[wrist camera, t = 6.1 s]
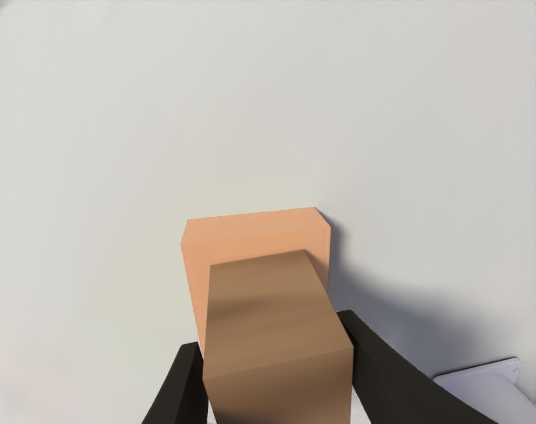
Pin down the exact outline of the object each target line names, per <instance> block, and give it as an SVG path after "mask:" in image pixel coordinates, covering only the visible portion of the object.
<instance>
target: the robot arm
mask: <svg viewBox="0 0 536 424" xmlns="http://www.w3.org/2000/svg"><path fill="white" fill-rule="evenodd" d="M336 313H337V315H338V317H339V319H340V321H341V323H342V325H343V327H344V329H345V331H346V333H347V335H348V337H349V339H350V341H351V343H352V345H353V347H354V349H353V371H352V385H353V387H354V389H355V391H356V393H357V395H358V397H359V399H360V401H361V403H362V405H363V407H364V410H365V412H366V414H367V416H368V418H369V420H370V422H371V424H536V406H535V405H534V404H533V403H532V402H531V401H530V400H529V399H528V398H527V397H526V396H525V395H524V394H523V393H522V392H521V391H520V390H519V389H518V388H517V387H516V386H515V382H516V379H517V376H518V374H519V371H520V368H521V366H522V362H521V361H520V360H519V359H518V358H512V359H508V360H504V361H499V362H495V363H491V364H487V365H483V366H478V367H474V368H470V369H466V370H461V371H457V372H453V373H449V374H445V375H440V376H437V377H435V378H434V379H433V380H431V379H430V378H429V377H427V376H426V375H425V374H423V373H422V372H421V371H419V370H418V369H417V368H416V367H414V366H413V365H412V364H411V363H409V362H408V361H407V360H406V359H404V358H403V357H402V356H401V355H400V354H398V353H397V352H396V351H395V350H394V349H393V348H391V347H390V346H389V345H388V344H387V343H386V342H384V341H383V340H382V339H381V338H380V337H379V336H378V335H377V334H376V333H375V332H374V331H372V330H371V329H370V328H369V327H368V326H367V325H366V324H365V323H364V322H363V321H362V320H361V319H360V318H359V317H358V316H357V315H356V314H355V313H354V312H353V311H352V310H346V311H341V312H336ZM203 365H204V360H203V357H202V354H201V351H200V348H199V345H198V342H193V343H188V344H184V345H182V346H181V347H180V349H179V351H178V353H177V355H176V358H175V360H174V362H173V364H172V366H171V368H170V371H169V373H168V375H167V377H166V379H165V381H164V383H163V385H162V387H161V389H160V391H159V393H158V394H157V396H156V398H155V400H154V402H153V404H152V406H151V408H150V410H149V411H148V413H147V415H146V417H145V418H144V420H143V422H142V424H207V415H208V399H209V398H208V395H207V392H206V389H205V386H204V382H203Z"/></svg>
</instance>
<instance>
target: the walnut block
mask: <svg viewBox="0 0 536 424" xmlns="http://www.w3.org/2000/svg"><path fill="white" fill-rule="evenodd" d="M353 349H354V347H353V345H352V343H351V341H350V339H349V337H348V335H347V333H346V331H345V329H344V327H343V325H342V323H341V321H340V319H339V317H338V315H337V313H336V311H335V309H334V307H333V305H332V303H331V301H330V299H329V297H328V295H327V294H326V292H325V290H324V288H323V286H322V284H321V282H320V280H319V278H318V276H317V274H316V272H315V270H314V268H313V266H312V264H311V262H310V260H309V258H308V256H307V254H306V252H305V250H304V249H302V250H296V251H290V252H285V253H279V254H273V255H267V256H262V257H256V258H250V259H245V260H239V261H233V262H227V263H222V264H216V265H210V277H209V292H208V307H207V321H206V336H205V350H204V365H203V382H204V386H205V389H206V392H207V395H208V398H209V401H210V404H211V407H212V410H213V413H214V416H215V419H216V422H217V424H350V414H351V393H352V371H353Z"/></svg>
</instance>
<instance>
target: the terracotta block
mask: <svg viewBox="0 0 536 424" xmlns="http://www.w3.org/2000/svg"><path fill="white" fill-rule="evenodd" d="M330 236H331V227H330V226H329V224H328V223H327V222H326V221H325V219H324V218H323V217H322V216H321V215H320V213H319V212H318V211H317V210H316V208H315V207H310V208H300V209H290V210H280V211H270V212H260V213H250V214H240V215H229V216H219V217H209V218H199V219H189V220H188V221H187V224H186V227H185V230H184V234H183V237H182V240H181V249H182V254H183V259H184V264H185V269H186V274H187V279H188V284H189V289H190V294H191V299H192V305H193V310H194V315H195V320H196V325H197V330H198V335H199V340H200V345H201V350H202V355H204V350H205V336H206V321H207V307H208V292H209V277H210V265H216V264H222V263H227V262H233V261H239V260H245V259H250V258H256V257H262V256H267V255H273V254H279V253H285V252H290V251H296V250H302V249H304V250H305V252H306V254H307V256H308V258H309V260H310V262H311V264H312V266H313V268H314V270H315V272H316V274H317V276H318V278H319V280H320V282H321V284H322V286H323V288H324V290H325V292H326V294H328V275H329V255H330Z"/></svg>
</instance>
